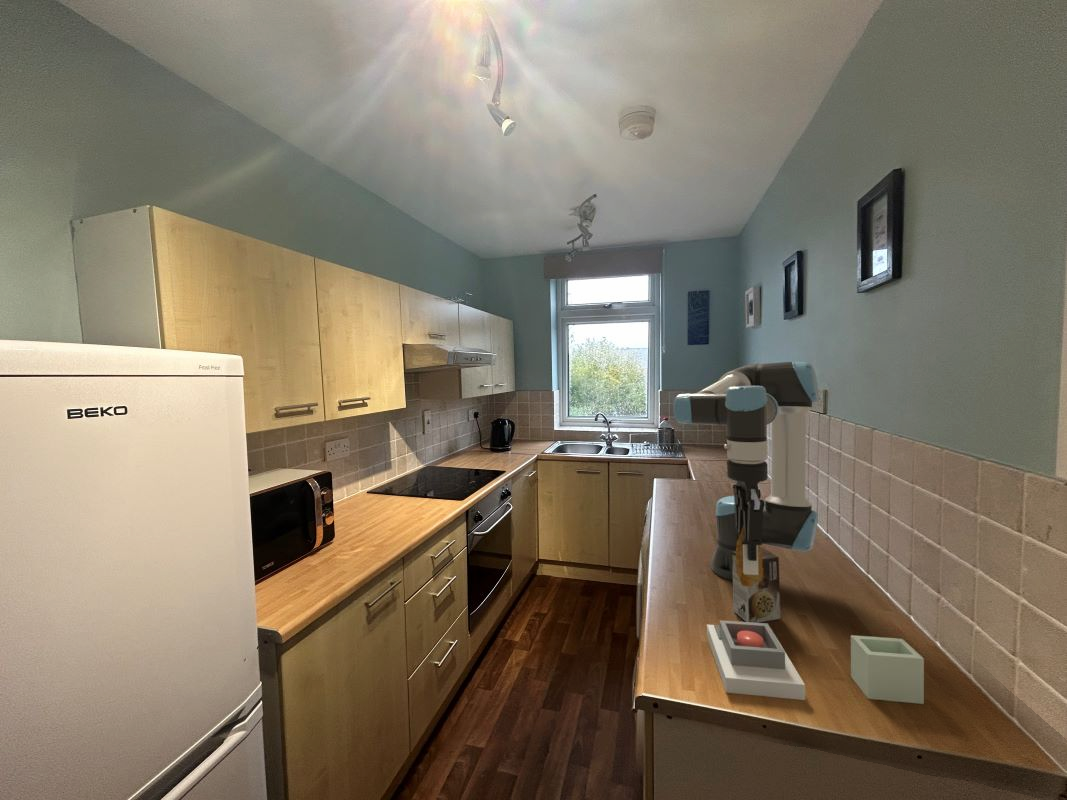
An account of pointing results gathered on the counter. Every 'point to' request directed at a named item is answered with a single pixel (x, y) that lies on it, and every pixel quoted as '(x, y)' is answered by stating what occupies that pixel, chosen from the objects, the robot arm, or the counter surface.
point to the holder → (887, 669)
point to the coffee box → (758, 592)
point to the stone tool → (744, 578)
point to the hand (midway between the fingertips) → (748, 570)
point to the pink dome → (749, 639)
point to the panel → (753, 662)
